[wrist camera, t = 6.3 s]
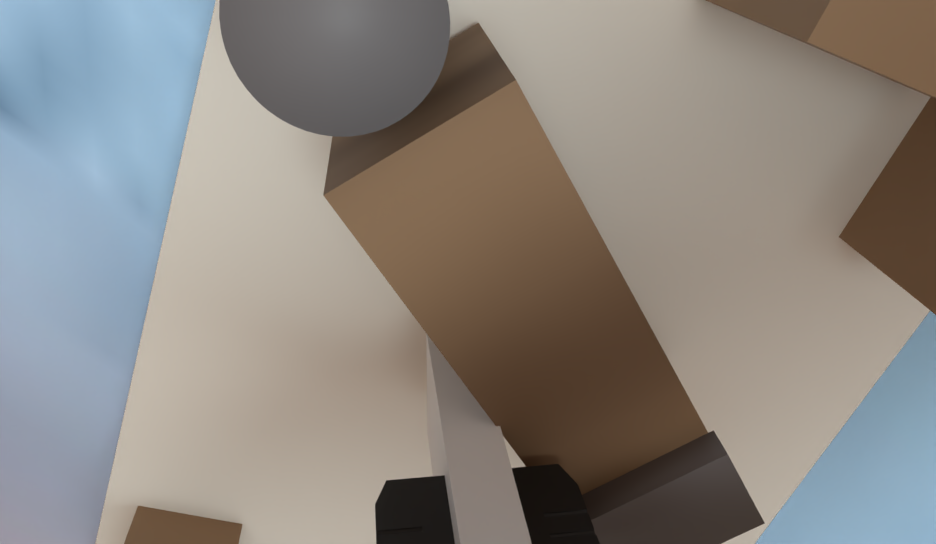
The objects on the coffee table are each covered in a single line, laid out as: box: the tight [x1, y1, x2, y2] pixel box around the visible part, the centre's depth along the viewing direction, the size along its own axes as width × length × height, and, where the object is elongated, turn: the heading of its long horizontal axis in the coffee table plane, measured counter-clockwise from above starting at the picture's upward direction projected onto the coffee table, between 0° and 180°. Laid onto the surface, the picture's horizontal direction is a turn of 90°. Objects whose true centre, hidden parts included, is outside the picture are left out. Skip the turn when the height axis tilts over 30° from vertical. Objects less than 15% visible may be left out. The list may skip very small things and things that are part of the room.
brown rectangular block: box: [323, 23, 765, 544], centre depth 14 cm, size 9×3×5 cm, turn 30°
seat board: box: [95, 0, 936, 544], centre depth 16 cm, size 17×20×6 cm
